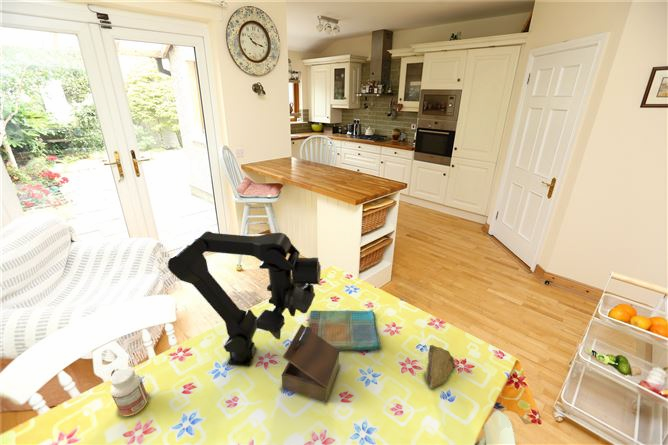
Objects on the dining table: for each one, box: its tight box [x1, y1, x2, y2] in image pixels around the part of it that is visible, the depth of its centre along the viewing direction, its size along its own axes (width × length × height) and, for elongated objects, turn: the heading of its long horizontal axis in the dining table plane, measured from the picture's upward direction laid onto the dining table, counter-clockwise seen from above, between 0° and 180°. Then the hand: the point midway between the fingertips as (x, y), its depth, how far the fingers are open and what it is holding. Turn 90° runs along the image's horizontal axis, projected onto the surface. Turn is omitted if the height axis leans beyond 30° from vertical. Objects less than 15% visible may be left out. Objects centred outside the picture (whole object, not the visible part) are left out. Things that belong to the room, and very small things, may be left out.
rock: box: [425, 344, 456, 390], centre depth 82 cm, size 11×9×10 cm
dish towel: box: [308, 309, 382, 351], centre depth 97 cm, size 17×23×2 cm
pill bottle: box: [109, 366, 149, 417], centre depth 72 cm, size 6×6×11 cm
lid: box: [282, 324, 341, 388], centre depth 77 cm, size 13×12×5 cm
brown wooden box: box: [280, 354, 340, 403], centre depth 81 cm, size 13×12×5 cm
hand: (285, 326), depth 82 cm, fingers open, 9 cm apart
